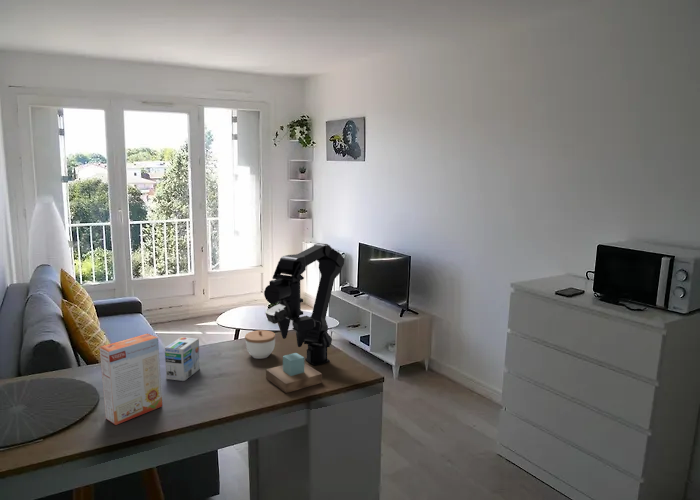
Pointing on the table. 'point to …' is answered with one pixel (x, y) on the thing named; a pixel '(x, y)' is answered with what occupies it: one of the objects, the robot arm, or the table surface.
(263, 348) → the lidded jar
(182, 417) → the table surface
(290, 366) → the block
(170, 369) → the light bulb box
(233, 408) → the table surface
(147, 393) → the cracker box
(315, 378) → the plinth
